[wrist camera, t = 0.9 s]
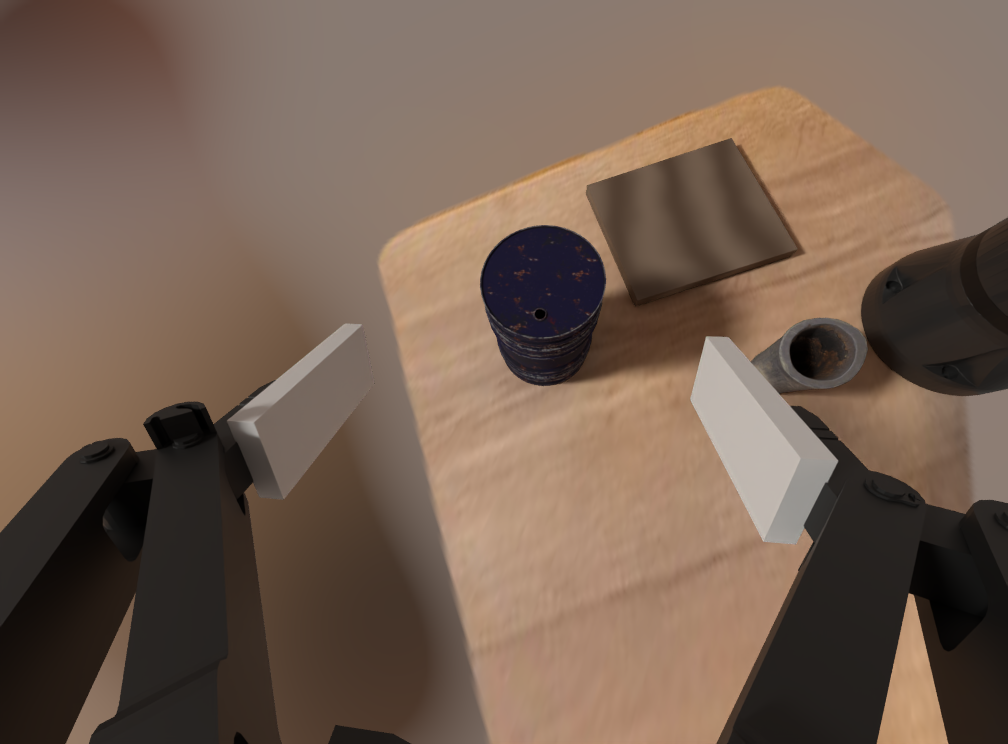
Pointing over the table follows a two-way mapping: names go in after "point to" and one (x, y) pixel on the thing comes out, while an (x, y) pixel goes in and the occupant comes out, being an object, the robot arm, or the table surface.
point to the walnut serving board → (687, 222)
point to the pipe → (813, 356)
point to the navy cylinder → (543, 301)
